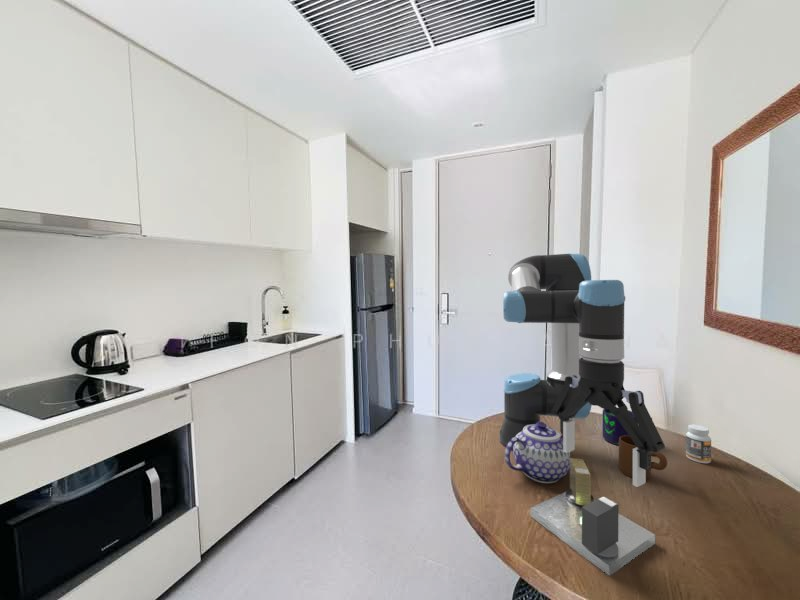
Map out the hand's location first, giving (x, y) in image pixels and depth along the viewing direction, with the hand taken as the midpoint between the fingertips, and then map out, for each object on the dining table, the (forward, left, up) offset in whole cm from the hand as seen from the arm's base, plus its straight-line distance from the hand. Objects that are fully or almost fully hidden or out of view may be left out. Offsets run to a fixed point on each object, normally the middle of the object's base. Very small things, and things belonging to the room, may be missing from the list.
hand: (600, 466), depth 64 cm
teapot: (-26, +14, -19) cm, 35 cm away
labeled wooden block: (-11, +10, -17) cm, 22 cm away
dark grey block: (0, 0, -17) cm, 17 cm away
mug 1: (-24, +55, -19) cm, 63 cm away
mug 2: (-11, +37, -19) cm, 43 cm away
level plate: (-6, +5, -19) cm, 20 cm away
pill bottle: (-8, +62, -19) cm, 65 cm away
